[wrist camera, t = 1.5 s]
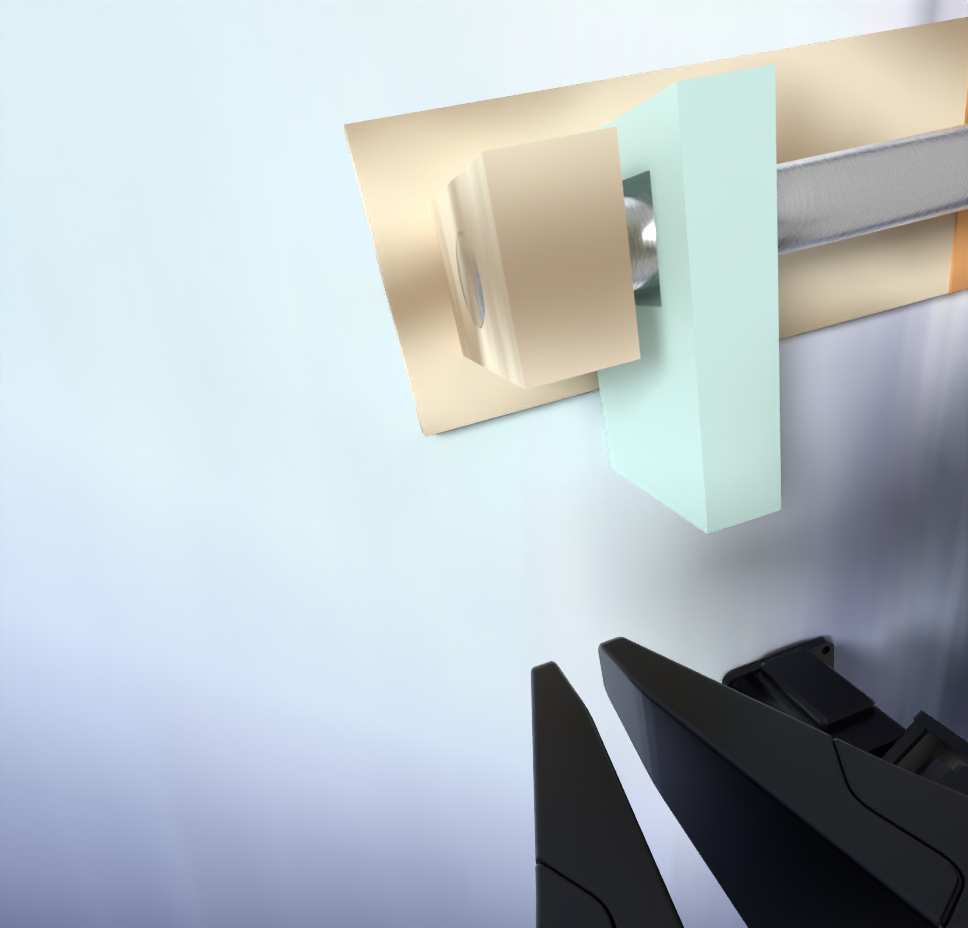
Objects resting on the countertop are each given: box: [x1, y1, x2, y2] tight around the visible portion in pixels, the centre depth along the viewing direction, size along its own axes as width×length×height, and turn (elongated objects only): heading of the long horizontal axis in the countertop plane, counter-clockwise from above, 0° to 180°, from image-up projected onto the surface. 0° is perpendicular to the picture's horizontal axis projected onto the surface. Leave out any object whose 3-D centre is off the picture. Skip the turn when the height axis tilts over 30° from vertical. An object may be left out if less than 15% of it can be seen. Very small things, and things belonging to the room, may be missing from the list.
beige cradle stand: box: [344, 17, 968, 437], centre depth 18 cm, size 10×34×8 cm, turn 102°
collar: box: [597, 64, 781, 534], centre depth 17 cm, size 11×2×6 cm, turn 12°
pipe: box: [456, 124, 968, 328], centre depth 18 cm, size 3×30×3 cm, turn 102°
